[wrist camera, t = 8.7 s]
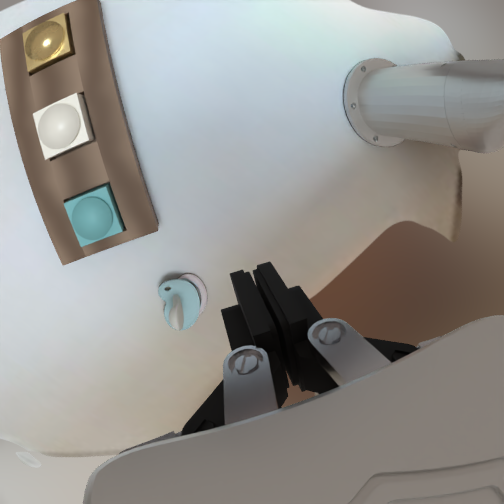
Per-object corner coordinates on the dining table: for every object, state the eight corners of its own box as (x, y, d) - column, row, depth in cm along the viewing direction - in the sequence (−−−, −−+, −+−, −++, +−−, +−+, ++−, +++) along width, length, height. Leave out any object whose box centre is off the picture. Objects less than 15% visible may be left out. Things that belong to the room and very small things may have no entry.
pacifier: (201, 265, 39) (154, 274, 37) (211, 289, 33) (156, 300, 32) (210, 313, 42) (167, 322, 40) (220, 341, 36) (171, 352, 35)
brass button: (71, 20, 22) (62, 10, 19) (77, 56, 24) (68, 49, 21) (32, 39, 21) (20, 31, 18) (37, 75, 23) (25, 70, 20)
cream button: (84, 95, 25) (75, 92, 22) (95, 139, 28) (87, 140, 24) (43, 114, 25) (30, 113, 21) (54, 156, 27) (43, 160, 24)
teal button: (110, 181, 31) (104, 187, 27) (125, 223, 33) (121, 233, 30) (71, 197, 30) (61, 205, 27) (86, 237, 32) (79, 249, 29)
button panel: (100, 2, 23) (95, -8, 20) (158, 222, 35) (158, 230, 32) (9, 45, 21) (-1, 40, 18) (69, 255, 33) (62, 265, 30)
